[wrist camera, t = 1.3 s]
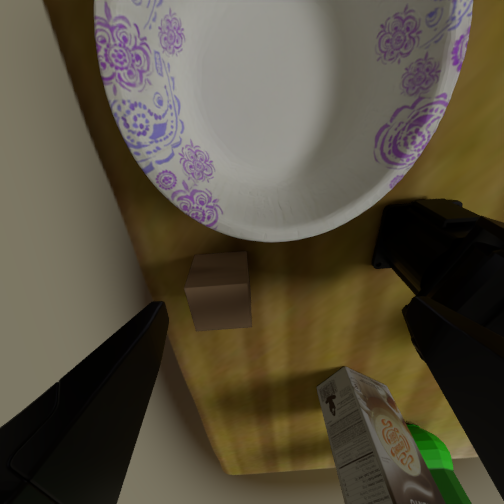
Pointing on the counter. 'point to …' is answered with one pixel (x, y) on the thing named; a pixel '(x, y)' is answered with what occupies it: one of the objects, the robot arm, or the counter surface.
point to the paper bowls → (278, 102)
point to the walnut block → (219, 291)
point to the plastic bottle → (439, 465)
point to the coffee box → (373, 444)
